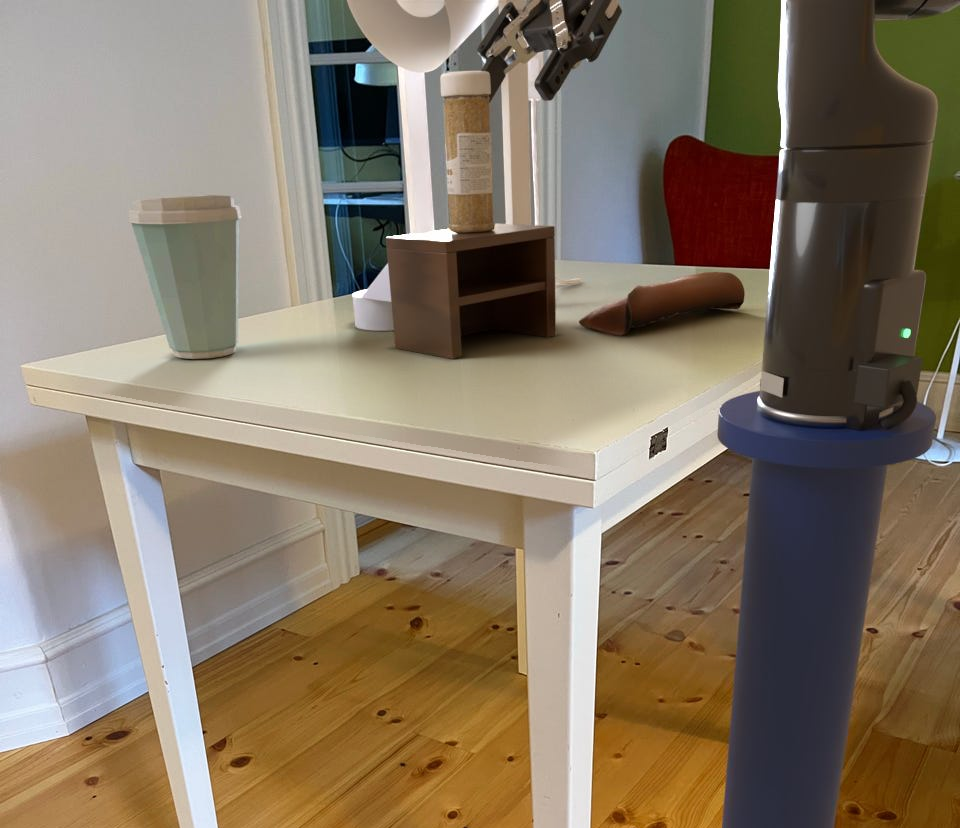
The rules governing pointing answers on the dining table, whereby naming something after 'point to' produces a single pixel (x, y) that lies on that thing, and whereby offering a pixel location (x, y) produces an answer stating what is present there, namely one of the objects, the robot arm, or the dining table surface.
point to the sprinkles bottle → (468, 150)
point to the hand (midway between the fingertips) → (509, 96)
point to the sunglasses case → (667, 301)
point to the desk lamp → (415, 50)
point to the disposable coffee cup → (192, 269)
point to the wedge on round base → (374, 305)
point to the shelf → (470, 285)
